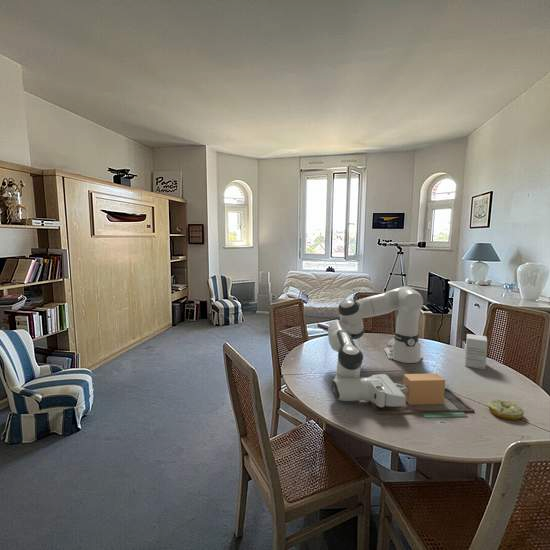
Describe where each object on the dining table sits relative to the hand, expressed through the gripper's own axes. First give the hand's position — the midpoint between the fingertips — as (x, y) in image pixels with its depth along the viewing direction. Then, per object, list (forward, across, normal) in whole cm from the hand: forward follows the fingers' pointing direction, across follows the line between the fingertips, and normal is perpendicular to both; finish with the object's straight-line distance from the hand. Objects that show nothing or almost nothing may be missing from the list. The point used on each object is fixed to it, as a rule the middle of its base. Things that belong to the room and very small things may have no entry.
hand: (407, 388), depth 128 cm
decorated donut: (+33, +10, -6) cm, 35 cm away
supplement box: (+52, -35, -6) cm, 63 cm away
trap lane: (+4, 0, -6) cm, 7 cm away
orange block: (+7, -1, -6) cm, 9 cm away
